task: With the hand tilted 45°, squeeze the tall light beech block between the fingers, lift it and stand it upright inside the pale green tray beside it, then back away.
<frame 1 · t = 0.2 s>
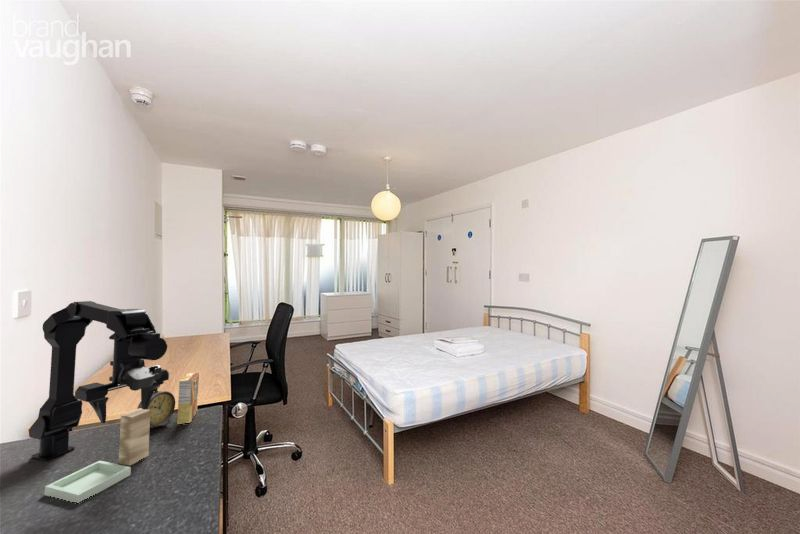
hand: (124, 415, 85), 14 cm above the countertop, tool pointing down, fingers open, 9 cm apart
alarm clock: (154, 428, 108), on the countertop
candy box: (187, 420, 114), on the countertop
beech block: (133, 459, 89), on the countertop
green tray: (89, 484, 78), on the countertop
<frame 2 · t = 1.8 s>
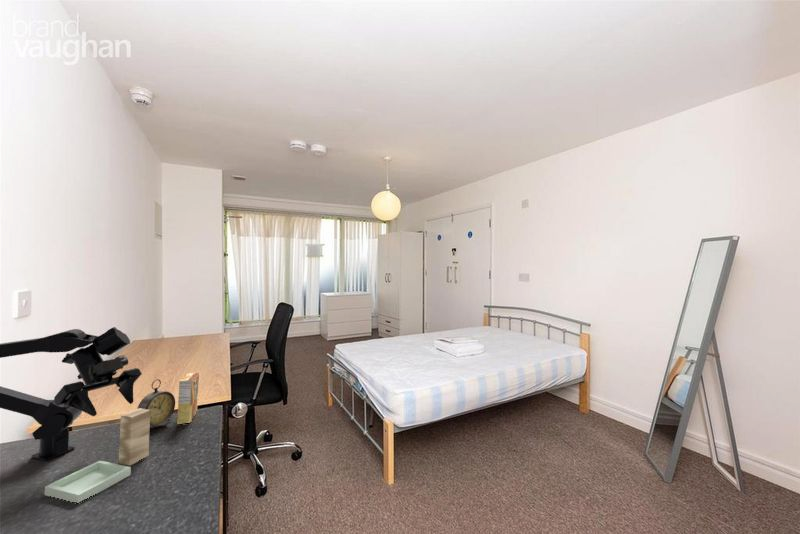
hand: (114, 408, 91), 13 cm above the countertop, tool tilted 45°, fingers open, 9 cm apart
nothing on the countertop moved.
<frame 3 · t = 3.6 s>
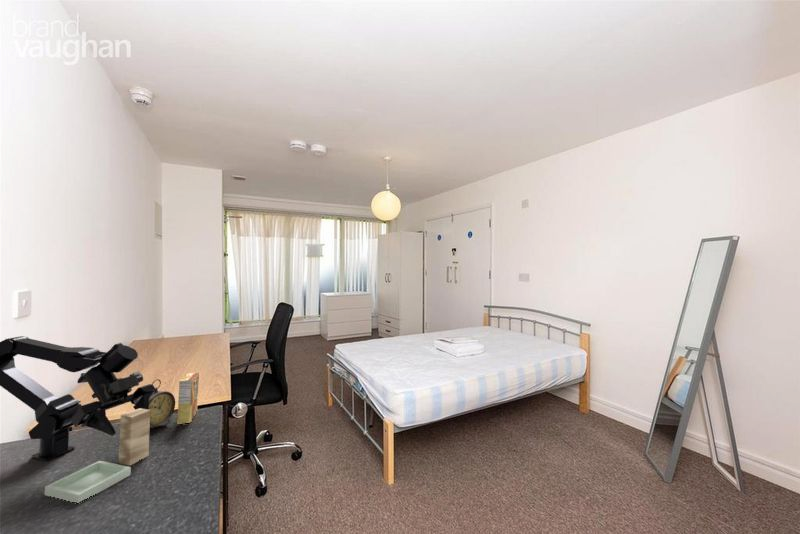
hand: (132, 426, 90), 9 cm above the countertop, tool tilted 45°, fingers open, 9 cm apart
nothing on the countertop moved.
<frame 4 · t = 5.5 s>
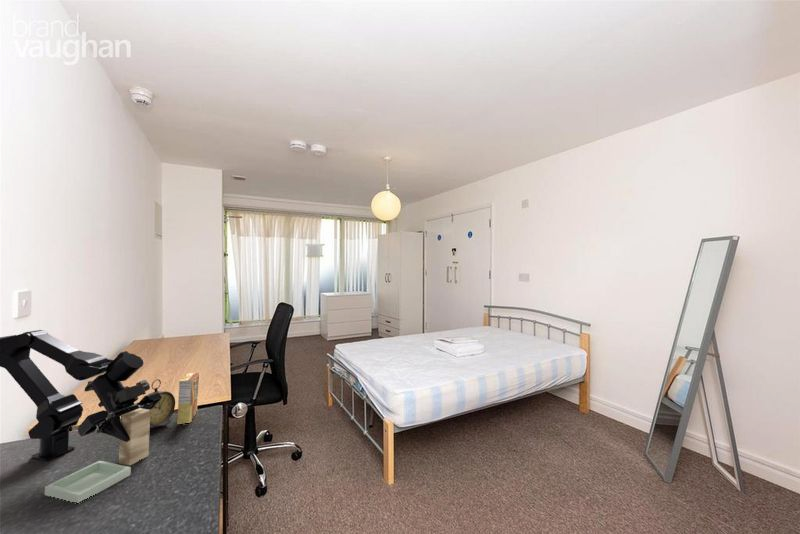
hand: (138, 436, 89), 7 cm above the countertop, tool tilted 45°, fingers closed on beech block, 5 cm apart
beech block: (133, 459, 89), on the countertop, touching gripper
everything else where it was.
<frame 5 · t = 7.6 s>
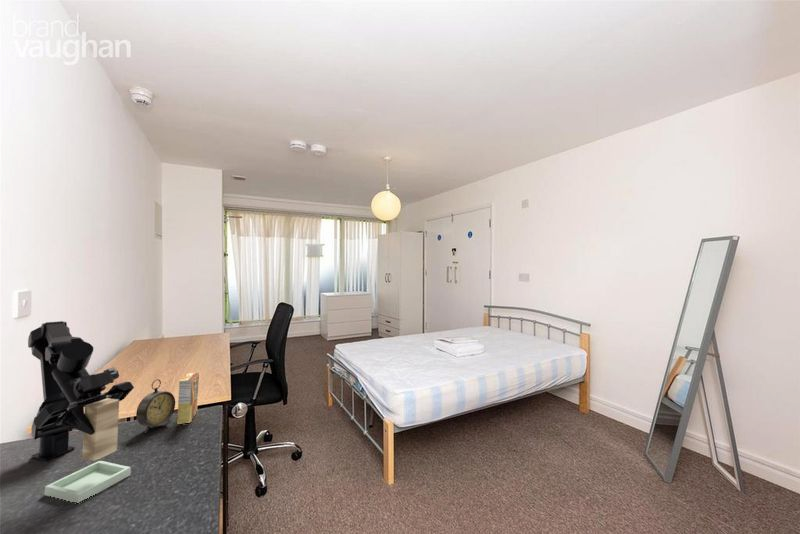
hand: (105, 428, 81), 13 cm above the countertop, tool tilted 45°, fingers closed on beech block, 5 cm apart
beech block: (100, 454, 81), point 6 cm above the countertop, touching gripper
everything else where it was.
when the fingers open (8 cm above the countertop, at t = 9.7 s): beech block stays where it is, resting on green tray.
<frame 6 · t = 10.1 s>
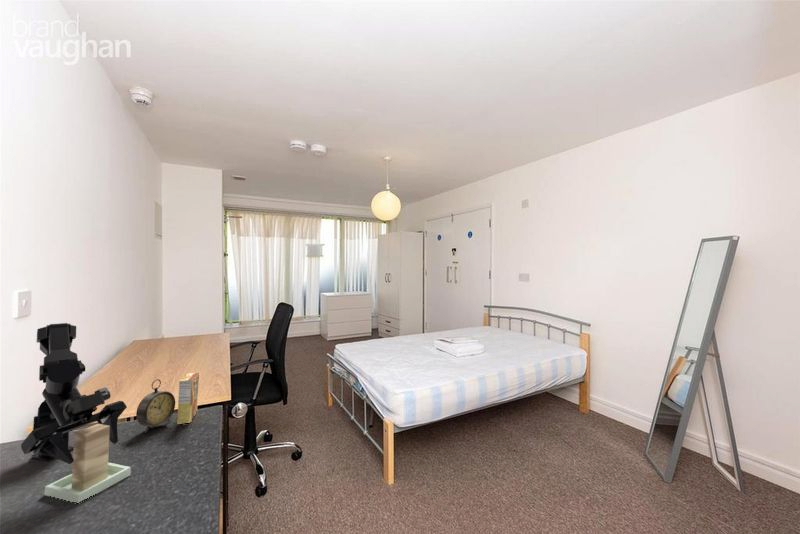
hand: (95, 452, 78), 8 cm above the countertop, tool tilted 45°, fingers open, 9 cm apart
beech block: (89, 482, 78), resting on green tray
everything else where it was.
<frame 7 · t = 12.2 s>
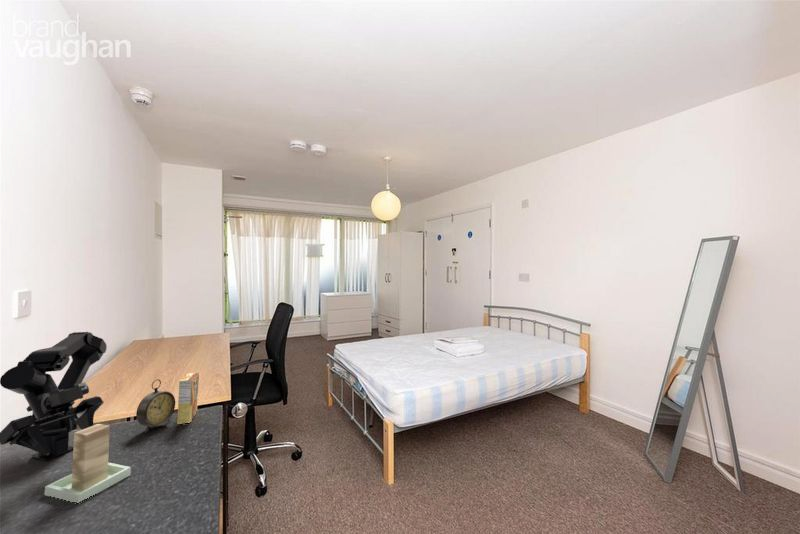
hand: (71, 444, 81), 8 cm above the countertop, tool tilted 45°, fingers open, 9 cm apart
nothing on the countertop moved.
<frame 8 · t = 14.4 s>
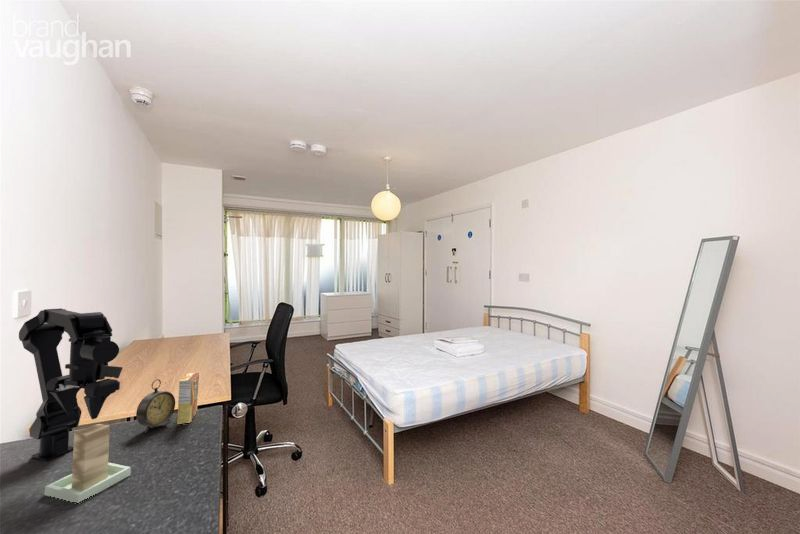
hand: (82, 416, 87), 13 cm above the countertop, tool pointing down, fingers open, 9 cm apart
nothing on the countertop moved.
at the end: beech block 0.1 cm off-centre on the green tray, point 0.4 cm above the green tray's base; beech block tilted 0°; the gripper is holding nothing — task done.
